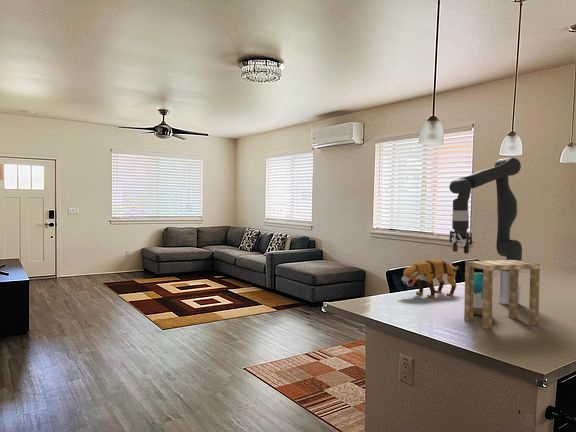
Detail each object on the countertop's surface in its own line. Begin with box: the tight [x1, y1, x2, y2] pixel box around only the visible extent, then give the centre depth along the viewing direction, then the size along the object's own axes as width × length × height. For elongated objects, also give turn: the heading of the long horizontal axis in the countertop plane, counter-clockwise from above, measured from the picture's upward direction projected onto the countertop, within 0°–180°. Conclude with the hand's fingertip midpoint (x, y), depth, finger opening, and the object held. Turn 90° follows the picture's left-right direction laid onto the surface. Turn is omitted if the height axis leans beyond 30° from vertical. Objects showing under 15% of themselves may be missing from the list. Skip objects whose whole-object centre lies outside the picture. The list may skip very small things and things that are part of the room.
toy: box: [401, 259, 460, 299], centre depth 244 cm, size 12×40×20 cm, turn 113°
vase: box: [473, 272, 483, 316], centre depth 201 cm, size 11×11×19 cm
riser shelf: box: [463, 259, 541, 330], centre depth 187 cm, size 26×14×26 cm, turn 105°
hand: (460, 252), depth 216 cm, fingers open, 8 cm apart
